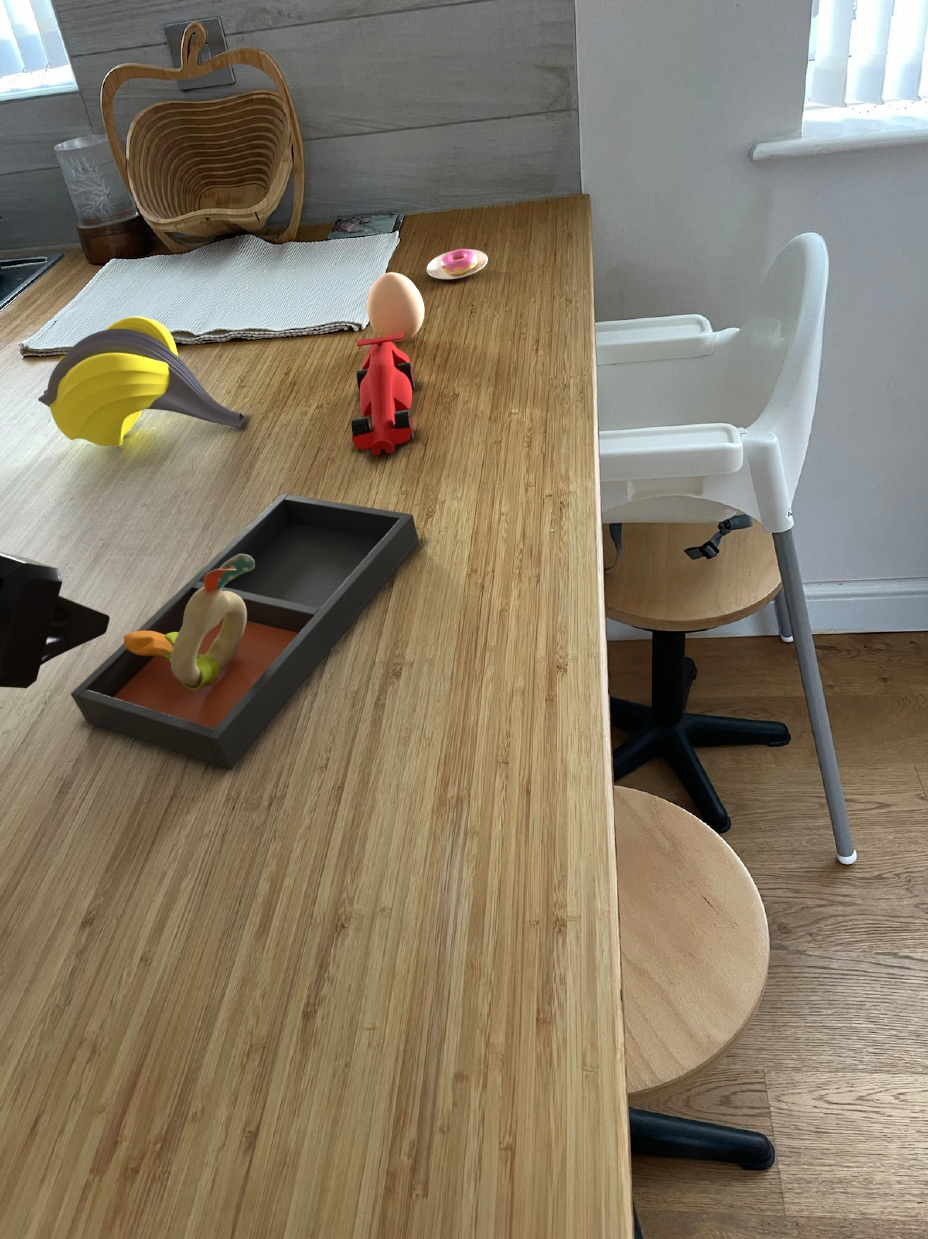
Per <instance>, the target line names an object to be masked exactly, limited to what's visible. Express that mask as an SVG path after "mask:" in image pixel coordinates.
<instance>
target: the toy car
mask: <svg viewBox="0 0 928 1239" xmlns="http://www.w3.org/2000/svg"><path fill="white" fill-rule="evenodd" d="M402 337H403V334H402V333H397V334H393V335H389V336H387V337H381V336H377V337H374V338H363V339H357V340H356V342H355V344H356V346H357V347H364V346H370V348H369V351H368V354H367V355H366V357H365V358H364V359H363V361H362V364H361V369H360V370H356V375H355V376H356V384H357V388H358V392H359V408H360V414H361V416H362V417H357V418H352V419H351V420H350V426H351V427H350V428H351V434H352V435H351V441H352V442H353V443H354V444H353V445H355V448H356V449H357V450H371V452H372V456H377V455H381V454H382V450H385V453H386V454H389V453H394V452H395V446H396V445H401V444H405V443H407V442H409V441H410V440H413V439H414V437H415V436H414V435H415V434H414V426H413V420H412V416H411V412H410V408H411V406H412V401H413V390H415V389H416V382H415V375H414V369H413V365H412V362H411V360H410V357H409V356H408V355H407V354H406V353H405V352H404V351H402V350H400V349H399V348H397V346H396V345H395V343H393V341H395V340H399V339H402ZM367 417H371V423H372V424H371V428H370V423H369V421H368V418H367Z"/></svg>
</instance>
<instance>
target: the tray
mask: <svg viewBox="0 0 928 1239" xmlns="http://www.w3.org/2000/svg"><path fill="white" fill-rule="evenodd" d="M417 531H418V530H417V528H416V523H415V518H414V514H411V513H406V512H400V511H393V510H388V509H380V508H374V507H368V506H362V505H356V504H350V503H343V502H337V501H332V500H331V501H330V500H325V499H320V498H319V499H318V498H314V497H313V498H312V497H306V496H299V495H294V494H286V493H281V494H280V495H279V496H278V497H277V498H276V499H275V500H274V501H272V503H270V504H269V505H268V506H267V507H266V508H265V509H264V510H263V511H262V512H261V513H260V514H258V515H257V516H256V518H254V519H253V521H251V522H250V523H249V524H248V525H247V526H246V527H245V528H244V529H243V530H242V531H241V532H240V533H239V534H238V535H236V536H235V537H234V538H233V540H231V541H230V542H229V543H228V544H227V545H226V546H225V547H224V548H223V549H222V550H221V551H219V553H218V554H216V555H215V556H214V557H213V558H212V559H211V560H210V561H209V562H208V563H207V564H206V565H205V566H204V567H203V568H202V569H200V571H198V572H197V573H196V574H195V575H194V576H193V577H192V578H191V579H190V580H189V581H188V582H187V583H185V585H184V586H182V588H180V590H179V591H178V592H176V593H175V594H174V595H173V596H172V597H171V598H170V599H168V600H167V602H165V604H163V606H162V607H161V608H159V609H158V611H156V612H154V614H153V615H152V616H151V617H150V618H149V619H147V620H146V622H144V624H143V625H141V626H140V627H139V628H138V629H137V630H136V631H154V632H158V633H161V634H164V635H166V634H168V633H172V632H178V633H179V631H180V629H181V628H182V625H183V618H184V612H185V608H186V606H187V604H188V602H189V600H190V599H191V597H192V596H193V595H194V593H195V592H196V591H197V590H199V589H200V588H202V587H204V583H203V582H204V577H205V575H206V574H207V573H209V572H210V571H212V570H215V569H219V568H220V567H221V566H222V565H223V564H224V563H225V562H226V561H228V560H229V559H231V558H233V557H234V556H236V555H238V554H246V555H249V556H252V558H253V560H254V561H255V566H254V569H252V570H251V571H248V572H245V573H243V574H240V575H238V576H237V577H235V578H234V579H232V580H231V581H229V582H228V583H226V584H225V585H224V587H223V588H222V590H221V591H229V592H232V593H235V594H236V595H238V596H239V597H241V599H242V600H243V601H244V603H245V606H246V611H247V620H246V626H245V630H244V633H243V636H242V639H241V641H240V644H239V647H238V651H237V654H236V656H235V657H234V659H233V660H232V661H231V662H229V663H228V664H227V665H226V666H225V667H224V668H223V669H222V670H221V671H220V674H219V678H218V679H217V680H216V681H214V682H213V683H212V684H210V685H208V686H204V687H202V688H199V689H197V690H191V689H188V688H187V687H185V686H184V685H183V684H182V683H181V682H180V680H178V679H177V678H176V677H175V675H174V674H173V672H172V669H171V662H170V659H168V658H167V657H164V656H142V655H137V654H135V653H133V652H131V651H129V650H128V649H127V648H126V647H125V645H124V643H122V644H121V645H120V646H119V647H118V648H117V649H116V650H115V651H114V652H113V653H112V654H111V655H109V657H108V658H107V659H105V661H103V662H102V663H101V664H100V665H99V666H98V667H97V668H96V669H95V670H93V672H92V673H91V674H90V675H88V676H87V677H86V678H85V680H83V681H82V682H81V683H80V684H79V685H78V686H77V687H76V688H75V689H74V690H73V691H72V692H71V693H70V696H71V698H72V699H73V701H74V702H75V704H76V706H77V708H78V709H79V711H80V713H81V714H82V716H83V718H84V720H85V722H86V723H87V724H89V725H94V726H96V727H99V728H103V729H106V730H109V731H111V732H115V733H117V734H121V735H124V736H127V737H130V738H132V739H136V740H139V741H141V742H145V743H148V744H151V745H155V746H158V747H160V748H164V749H167V750H170V751H172V752H176V753H178V754H181V755H185V756H188V757H191V758H194V759H197V760H200V761H204V762H206V763H209V764H212V765H216V766H219V767H221V768H224V769H228V770H232V769H233V767H235V765H236V763H237V762H238V761H239V760H240V759H241V758H242V756H244V754H245V753H246V752H247V750H248V749H249V748H250V747H251V746H252V745H253V743H254V742H255V741H256V740H257V739H258V737H259V736H260V735H261V734H262V733H263V732H264V730H265V729H266V728H267V726H269V724H270V723H271V722H272V721H273V719H274V718H275V717H276V716H277V715H278V714H279V712H280V711H281V710H282V709H283V708H284V706H285V705H286V704H287V703H288V701H289V700H290V699H291V698H292V697H293V695H294V694H295V693H296V692H297V691H298V690H299V688H300V687H301V686H302V684H303V683H305V681H306V680H307V679H308V678H309V677H310V675H311V674H312V673H313V672H314V670H315V669H316V668H317V667H318V665H320V663H321V662H322V661H323V659H324V658H325V657H326V656H327V655H328V653H329V652H330V651H331V650H332V649H333V648H334V647H335V645H336V644H337V643H338V642H339V640H340V639H341V638H342V637H343V635H344V634H346V632H347V631H348V630H349V629H350V627H351V626H352V625H353V624H354V622H355V621H356V620H357V619H358V618H359V617H360V616H361V614H362V613H363V612H364V610H365V609H366V608H367V607H368V606H369V605H370V603H371V602H372V601H373V600H374V598H375V597H376V596H377V595H378V594H379V593H380V592H381V590H382V589H383V588H384V587H385V586H386V585H387V583H388V582H389V581H390V580H391V578H392V577H393V576H394V575H395V574H396V572H397V571H398V570H399V569H400V567H401V566H402V565H403V564H404V563H405V562H406V560H407V559H408V558H409V557H410V556H411V555H412V553H413V552H414V551H415V549H416V548H417V547H418V546H419V545H420V539H419V536H418V532H417ZM223 619H224V617H223V618H222V620H221V621H220V622H219V624H218V625H217V626H216V627H215V628H214V629H212V630H211V631H209V632H208V633H207V634H206V636H205V637H204V638H203V640H202V642H201V645H200V647H199V650H198V653H197V654H206V653H207V652H208V650H209V649H210V647H211V645H212V643H213V641H214V640H215V639H216V637H217V636H218V634H219V633H220V630H221V628H222V625H223Z"/></svg>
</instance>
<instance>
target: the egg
mask: <svg viewBox="0 0 928 1239" xmlns="http://www.w3.org/2000/svg"><path fill="white" fill-rule="evenodd" d="M366 312H367V317H368V320H369V323H370V325H371V327H372V329H373V330H374V331H375V332H376V334H378V335H379V337H387V336H389V335H393V334H397V333H402V334H403V337H402V339H399V340H395V341H392V343H393V342H394V343H395V342H396V343H400V342H401V343H402V342H405V341H407V340H410V339H411V338H413V337H414V336H415V335H416V334H417V333H418V332H419V330H420V328H421V327H422V325H423V322H424V318H425V304H424V301H423V297H422V295H421V293H420V291H419V289H418V288H417V287H416V285H415V284H414V283H413V281H412V280H410V279H409V278H408V277H407V276H405V275H404V274H401V273H398V272H391V271H390V272H386V273H384V274H381V275H380V276H379V277H378V278H377V279H376V280H374V282H373V283H372V284H371V288H370V289H369V293H368V296H367V301H366Z"/></svg>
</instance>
